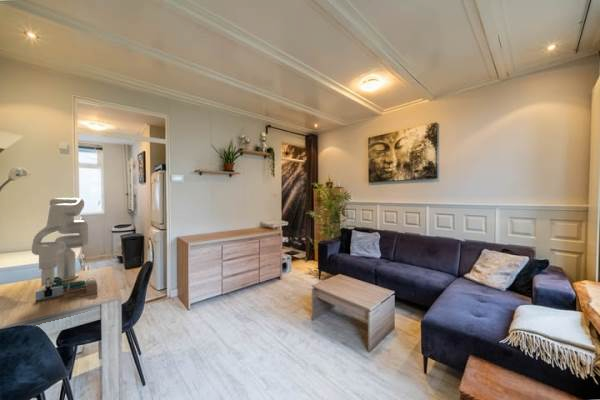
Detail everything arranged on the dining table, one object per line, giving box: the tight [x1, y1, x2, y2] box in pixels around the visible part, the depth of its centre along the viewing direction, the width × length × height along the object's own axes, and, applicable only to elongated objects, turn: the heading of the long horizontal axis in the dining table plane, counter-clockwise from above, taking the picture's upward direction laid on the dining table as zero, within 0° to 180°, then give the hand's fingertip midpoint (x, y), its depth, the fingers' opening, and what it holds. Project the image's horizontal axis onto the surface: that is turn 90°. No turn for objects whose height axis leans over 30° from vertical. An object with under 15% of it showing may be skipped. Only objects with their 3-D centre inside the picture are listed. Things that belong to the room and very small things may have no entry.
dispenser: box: [67, 277, 98, 300], centre depth 143 cm, size 8×13×8 cm, turn 137°
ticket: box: [35, 286, 64, 301], centre depth 137 cm, size 2×11×5 cm, turn 136°
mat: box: [37, 296, 59, 303], centre depth 137 cm, size 7×8×1 cm
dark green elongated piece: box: [52, 276, 86, 291], centre depth 152 cm, size 18×7×8 cm, turn 136°
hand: (48, 294), depth 137 cm, fingers open, 4 cm apart
